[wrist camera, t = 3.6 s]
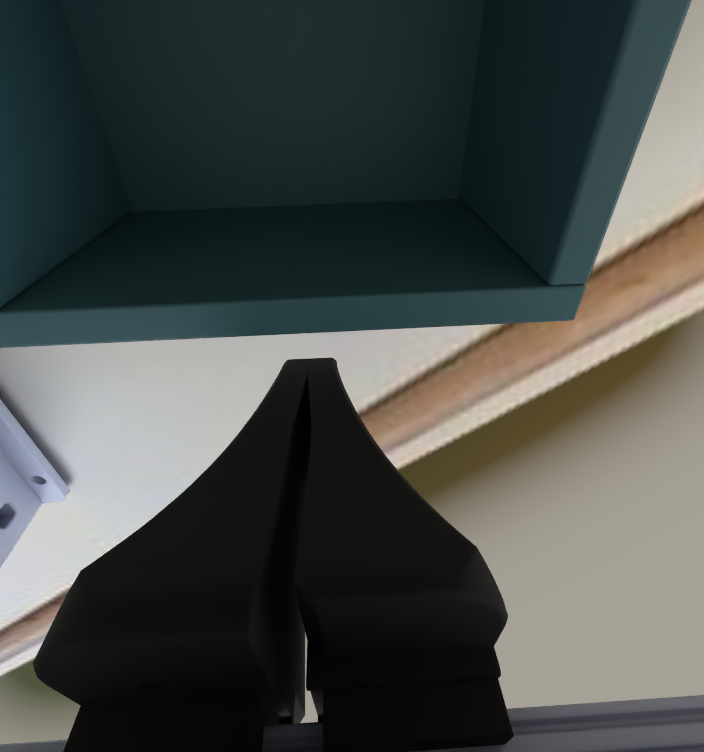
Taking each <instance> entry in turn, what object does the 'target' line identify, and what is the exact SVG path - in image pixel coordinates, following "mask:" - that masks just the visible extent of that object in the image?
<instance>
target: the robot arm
mask: <svg viewBox="0 0 704 752" xmlns="http://www.w3.org/2000/svg"><path fill="white" fill-rule="evenodd" d="M69 491H70V490H69V488H68V486H67V485H66V484H65V482H64V481H63V480H62V478H61V477H60V476H59V475H58V473H57V472H56V471H55V469H54V468H53V467H52V465H51V464H50V463H49V462H48V460H47V459H46V458H45V456H44V455H43V454H42V452H41V451H40V450H39V449H38V447H37V446H36V445H35V443H34V442H33V441H32V439H31V438H30V437H29V436H28V434H27V433H26V432H25V430H24V429H23V428H22V426H21V425H20V424H19V423H18V421H17V420H16V419H15V417H14V416H13V415H12V413H11V412H10V411H9V410H8V408H7V407H6V406H5V404H4V403H3V402H2V401H1V399H0V568H1V566H2V565H3V563H4V561H5V560H6V558H7V557H8V555H9V554H10V552H11V551H12V549H13V548H14V546H15V545H16V543H17V542H18V540H19V538H20V537H21V535H22V534H23V532H24V531H25V529H26V528H27V526H28V525H29V523H30V522H31V520H32V519H33V517H34V515H35V514H36V512H37V511H38V509H39V508H40V506H41V505H42V503H55V502H61V501H63V500H65V499H66V497H67V496H68V494H69ZM507 618H508V614H507V611H506V608H505V604H504V601H503V598H502V596H501V594H500V591H499V589H498V587H497V585H496V582H495V580H494V578H493V576H492V574H491V572H490V570H489V568H488V566H487V564H486V562H485V561H484V559H483V557H482V555H481V554H480V552H479V550H478V548H477V547H476V546H475V545H474V544H472V543H471V542H470V541H469V540H468V539H467V538H465V537H464V536H463V535H462V534H461V533H459V531H457V530H456V529H455V528H454V527H453V526H452V525H451V524H449V523H448V522H447V521H446V520H445V519H444V518H443V517H442V516H441V515H440V514H439V513H438V512H437V511H436V510H435V509H433V507H431V506H430V505H429V504H428V503H427V502H426V501H425V500H424V499H423V498H422V497H421V496H420V495H419V493H418V492H417V491H416V490H415V489H414V488H413V487H412V486H411V485H410V484H409V482H408V481H407V480H406V479H405V478H404V477H403V476H402V475H401V474H400V473H399V472H398V470H397V469H396V468H395V467H394V465H393V464H392V463H391V462H390V461H389V459H388V458H387V457H386V456H385V454H384V453H383V451H382V450H381V449H380V447H379V446H378V445H377V443H376V442H375V441H374V439H373V438H372V436H371V435H370V433H369V432H368V430H367V428H366V427H365V425H364V424H363V422H362V420H361V419H360V417H359V415H358V414H357V412H356V410H355V408H354V406H353V404H352V402H351V400H350V398H349V396H348V394H347V392H346V390H345V388H344V385H343V383H342V380H341V378H340V375H339V372H338V368H337V361H336V360H335V359H333V358H314V359H293V360H287V361H286V362H285V363H284V365H283V367H282V369H281V371H280V373H279V374H278V376H277V378H276V380H275V382H274V383H273V385H272V387H271V388H270V390H269V391H268V393H267V395H266V396H265V398H264V399H263V401H262V402H261V404H260V405H259V407H258V408H257V410H256V411H255V412H254V414H253V415H252V417H251V418H250V419H249V421H248V422H247V423H246V424H245V426H244V427H243V428H242V430H241V431H240V432H239V434H238V435H237V436H236V437H235V439H234V440H233V441H232V442H231V443H230V445H229V446H228V447H227V448H226V449H225V450H224V451H223V453H222V454H221V455H220V456H219V457H218V458H217V459H216V460H215V461H214V462H213V463H212V465H211V466H210V467H209V468H208V469H207V470H206V471H205V472H203V473H202V474H201V475H200V476H199V477H198V478H197V479H196V480H195V481H194V482H193V483H192V484H191V485H190V486H189V487H188V488H187V489H186V490H185V491H184V492H183V493H182V494H181V495H179V496H178V497H177V498H176V499H175V500H174V501H172V502H171V503H170V504H169V505H168V506H166V507H165V508H164V509H163V510H162V511H161V512H159V513H158V514H157V515H156V516H155V517H153V518H152V519H151V520H150V521H149V522H147V523H146V524H145V525H144V526H142V527H141V528H140V529H138V530H137V531H136V532H134V533H133V534H132V535H130V536H129V537H128V538H126V539H125V540H124V541H122V542H121V543H119V544H118V545H117V546H115V547H114V548H112V549H111V550H110V551H108V552H107V553H105V554H104V555H103V556H101V557H100V558H98V559H97V560H96V561H94V562H93V563H91V564H90V565H88V566H87V567H85V568H84V569H83V570H81V571H80V573H79V575H78V577H77V578H76V580H75V582H74V583H73V585H72V587H71V588H70V590H69V592H68V593H67V595H66V597H65V599H64V601H63V603H62V605H61V607H60V609H59V611H58V613H57V615H56V617H55V619H54V621H53V623H52V625H51V627H50V629H49V631H48V633H47V635H46V637H45V640H44V642H43V644H42V646H41V648H40V650H39V652H38V654H37V656H36V658H35V660H34V662H33V667H34V670H35V673H36V675H37V677H38V678H39V679H40V680H41V681H42V682H43V683H45V684H46V685H47V686H49V687H51V688H52V689H54V690H56V691H57V692H59V693H61V694H62V695H64V696H66V697H68V698H69V699H71V700H72V701H74V702H76V703H77V704H79V705H81V707H80V709H79V712H78V714H77V717H76V719H75V722H74V725H73V728H72V730H71V732H70V735H69V738H68V740H57V741H43V742H28V743H14V744H0V752H704V695H699V696H686V697H685V696H684V697H671V698H657V699H641V700H627V701H613V702H598V703H585V704H571V705H557V706H541V707H527V708H513V709H506V706H505V702H504V698H503V695H502V691H501V688H500V684H499V681H498V678H499V677H500V676H501V672H500V667H499V663H498V659H497V656H496V652H495V649H494V645H495V643H496V641H497V639H498V638H499V636H500V634H501V632H502V630H503V629H504V627H505V625H506V622H507ZM305 632H306V636H307V640H308V644H307V674H306V675H307V676H306V688H307V690H308V691H311V694H312V698H313V701H314V704H315V708H316V711H317V714H318V722H313V723H300V722H301V720H302V719H303V717H304V716H305Z"/></svg>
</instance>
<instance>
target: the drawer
mask: <svg viewBox="0 0 704 752" xmlns="http://www.w3.org/2000/svg"><path fill="white" fill-rule="evenodd" d="M690 3H691V0H0V348H8V347H28V346H49V345H70V344H91V343H111V342H132V341H153V340H174V339H194V338H215V337H236V336H257V335H277V334H298V333H319V332H340V331H360V330H381V329H402V328H423V327H443V326H464V325H485V324H506V323H526V322H547V321H568V320H573V319H574V318H575V316H576V313H577V310H578V308H579V305H580V302H581V300H582V297H583V294H584V292H585V289H586V286H585V284H584V283H586V282H587V281H588V279H589V276H590V273H591V271H592V268H593V265H594V263H595V260H596V257H597V255H598V252H599V249H600V246H601V244H602V241H603V238H604V236H605V233H606V230H607V227H608V225H609V222H610V219H611V217H612V214H613V211H614V208H615V206H616V203H617V200H618V198H619V195H620V192H621V190H622V187H623V184H624V181H625V179H626V176H627V173H628V171H629V168H630V165H631V162H632V160H633V157H634V154H635V152H636V149H637V146H638V144H639V141H640V138H641V135H642V133H643V130H644V127H645V125H646V122H647V119H648V116H649V114H650V111H651V108H652V106H653V103H654V100H655V98H656V95H657V92H658V89H659V87H660V84H661V81H662V79H663V76H664V73H665V70H666V68H667V65H668V62H669V60H670V57H671V54H672V51H673V49H674V46H675V43H676V41H677V38H678V35H679V33H680V30H681V27H682V24H683V22H684V19H685V16H686V14H687V11H688V8H689V5H690Z"/></svg>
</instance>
